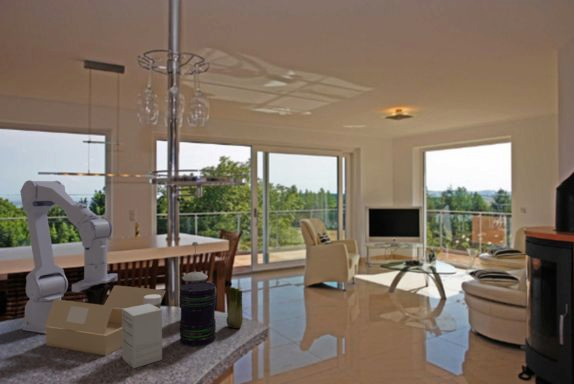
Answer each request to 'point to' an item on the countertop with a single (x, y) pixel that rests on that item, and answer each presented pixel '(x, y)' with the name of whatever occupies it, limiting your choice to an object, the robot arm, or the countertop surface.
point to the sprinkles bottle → (152, 300)
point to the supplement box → (141, 335)
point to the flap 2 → (129, 296)
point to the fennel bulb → (235, 308)
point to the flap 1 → (79, 316)
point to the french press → (195, 274)
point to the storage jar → (197, 314)
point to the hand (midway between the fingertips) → (96, 312)
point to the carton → (89, 337)
